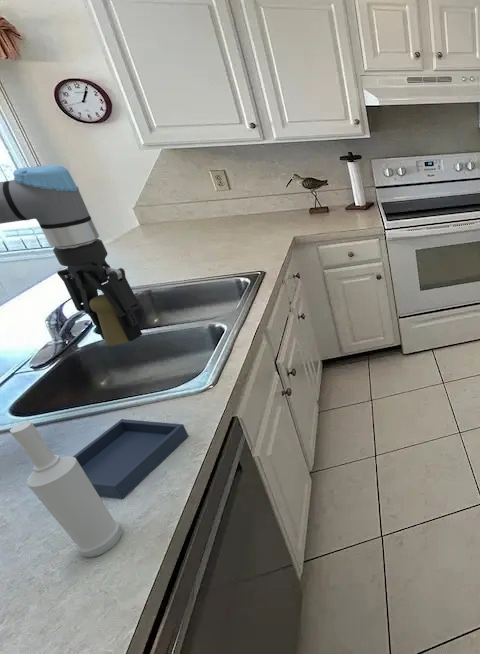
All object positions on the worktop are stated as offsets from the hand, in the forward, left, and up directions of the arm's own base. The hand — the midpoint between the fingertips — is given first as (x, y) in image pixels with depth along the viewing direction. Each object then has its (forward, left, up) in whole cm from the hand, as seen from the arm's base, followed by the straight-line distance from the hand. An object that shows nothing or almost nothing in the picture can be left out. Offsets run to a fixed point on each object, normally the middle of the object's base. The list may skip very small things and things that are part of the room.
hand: (122, 336), depth 95 cm
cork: (0, 0, 0) cm, 0 cm away
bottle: (+28, -35, -15) cm, 47 cm away
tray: (+16, -21, -15) cm, 30 cm away
